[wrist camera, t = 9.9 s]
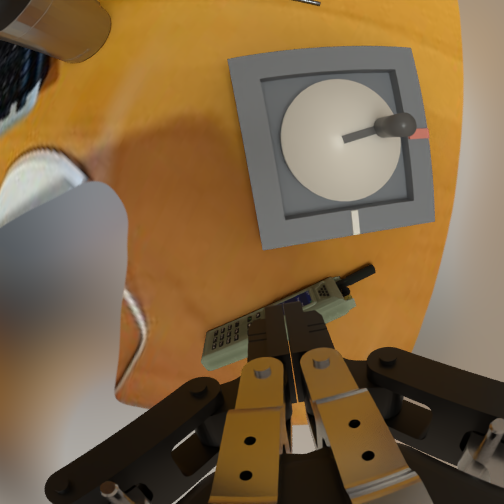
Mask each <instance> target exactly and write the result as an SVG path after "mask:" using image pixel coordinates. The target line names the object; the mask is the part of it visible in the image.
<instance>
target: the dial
mask: <svg viewBox="0 0 504 504" xmlns="http://www.w3.org/2000/svg"><path fill="white" fill-rule="evenodd" d="M416 128H417V124H416V121H415V119H414V117H413V116H412V115H411V114H409V113H399V114H393V112H392V111H391V109H390V108H389V106H388V105H387V103H386V102H385V101H384V100H383V99H382V98H381V97H380V96H379V95H378V94H377V93H376V92H374V91H373V90H371V89H370V88H368V87H366V86H364V85H362V84H360V83H357V82H354V81H350V80H345V79H330V80H325V81H321V82H318V83H315V84H313V85H311V86H309V87H308V88H306V89H305V90H303V91H302V92H301V93H300V94H299V95H298V96H297V97H296V98H295V99H294V100H293V102H292V103H291V104H290V106H289V107H288V109H287V111H286V113H285V115H284V118H283V120H282V125H281V131H280V144H281V150H282V154H283V157H284V160H285V162H286V164H287V166H288V168H289V170H290V171H291V173H292V174H293V175H294V177H295V178H296V179H297V180H298V181H299V182H300V183H301V184H302V185H303V186H305V187H306V188H307V189H309V190H310V191H312V192H313V193H315V194H317V195H319V196H321V197H324V198H326V199H330V200H335V201H354V200H359V199H362V198H365V197H367V196H370V195H372V194H373V193H375V192H376V191H378V190H379V189H380V188H381V187H383V186H384V185H385V184H386V182H387V181H388V180H389V179H390V177H391V176H392V174H393V172H394V170H395V169H396V166H397V163H398V160H399V156H400V148H401V138H400V137H409V136H412V135H413V134H414V133H415V131H416Z"/></svg>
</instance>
